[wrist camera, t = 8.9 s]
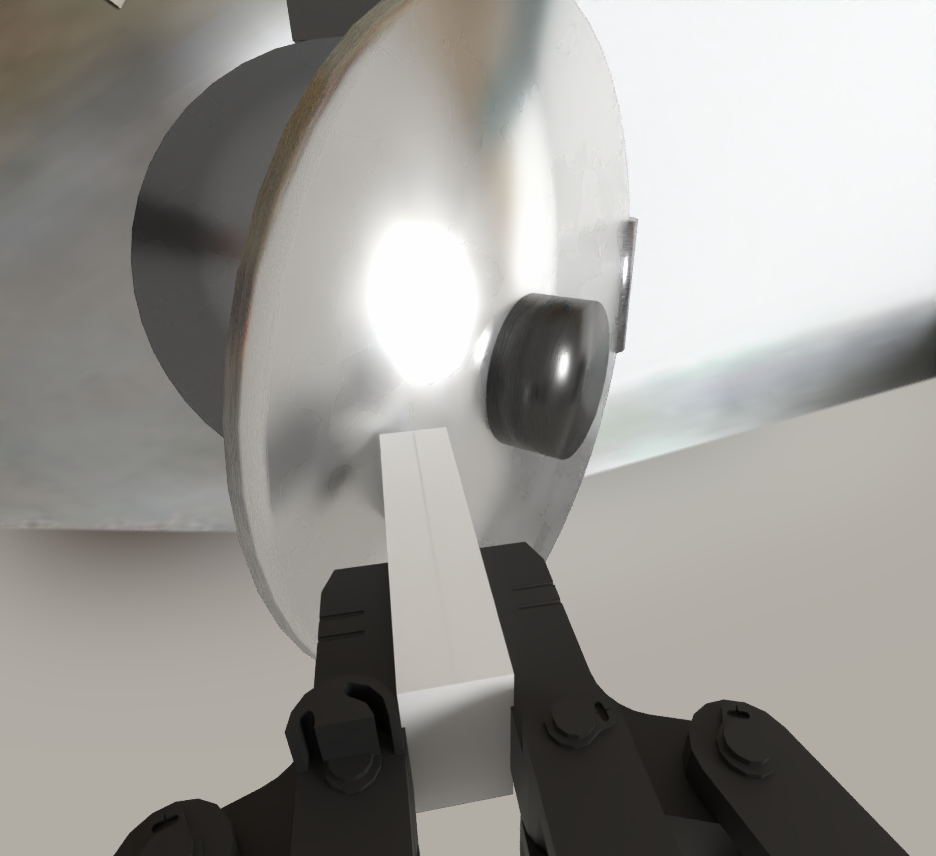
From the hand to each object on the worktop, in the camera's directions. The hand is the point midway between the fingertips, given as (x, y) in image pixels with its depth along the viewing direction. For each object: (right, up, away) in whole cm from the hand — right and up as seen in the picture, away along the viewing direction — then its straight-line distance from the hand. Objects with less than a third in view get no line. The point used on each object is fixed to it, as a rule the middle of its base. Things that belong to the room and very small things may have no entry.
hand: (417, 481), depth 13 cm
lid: (+2, +4, +6) cm, 8 cm away
